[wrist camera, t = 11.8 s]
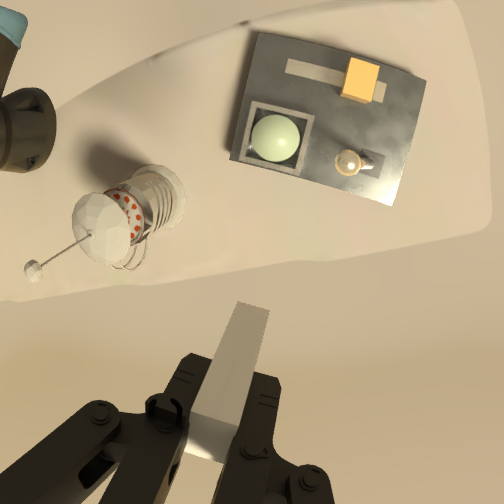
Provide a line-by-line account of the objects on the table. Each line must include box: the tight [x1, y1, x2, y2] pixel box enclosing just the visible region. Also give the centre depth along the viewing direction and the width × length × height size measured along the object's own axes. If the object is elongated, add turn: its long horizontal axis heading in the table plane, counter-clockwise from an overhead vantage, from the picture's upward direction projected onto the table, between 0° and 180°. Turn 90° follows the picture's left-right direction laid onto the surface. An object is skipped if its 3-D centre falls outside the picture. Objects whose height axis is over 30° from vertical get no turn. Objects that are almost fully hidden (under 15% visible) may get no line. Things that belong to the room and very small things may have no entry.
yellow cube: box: [340, 57, 380, 104], centre depth 29 cm, size 3×4×4 cm
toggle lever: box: [335, 149, 374, 176], centre depth 30 cm, size 2×2×10 cm
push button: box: [251, 115, 300, 161], centre depth 34 cm, size 5×5×3 cm
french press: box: [24, 164, 187, 283], centre depth 33 cm, size 10×12×25 cm
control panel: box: [229, 33, 426, 206], centre depth 34 cm, size 20×16×6 cm
